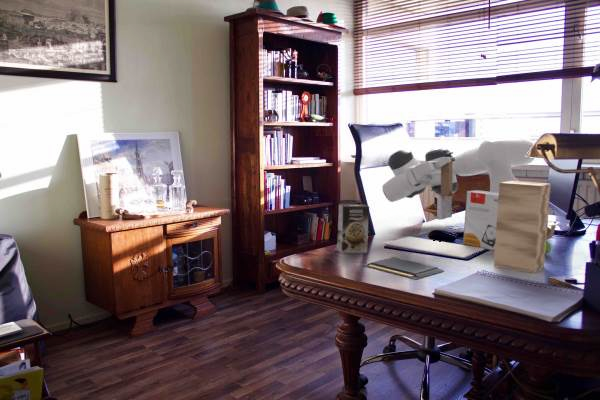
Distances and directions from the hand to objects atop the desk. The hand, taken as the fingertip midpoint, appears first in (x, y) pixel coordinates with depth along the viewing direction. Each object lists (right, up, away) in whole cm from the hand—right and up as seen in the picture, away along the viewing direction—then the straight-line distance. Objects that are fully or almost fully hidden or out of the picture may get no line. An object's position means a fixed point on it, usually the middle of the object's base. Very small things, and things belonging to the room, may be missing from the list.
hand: (452, 158), depth 183 cm
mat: (-5, -31, +6) cm, 32 cm away
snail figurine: (+30, -33, -4) cm, 45 cm away
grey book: (-22, -36, -25) cm, 49 cm away
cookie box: (-36, -32, -4) cm, 48 cm away
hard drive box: (+15, -32, +7) cm, 36 cm away
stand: (+15, -35, -20) cm, 43 cm away
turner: (-3, -10, +3) cm, 11 cm away
